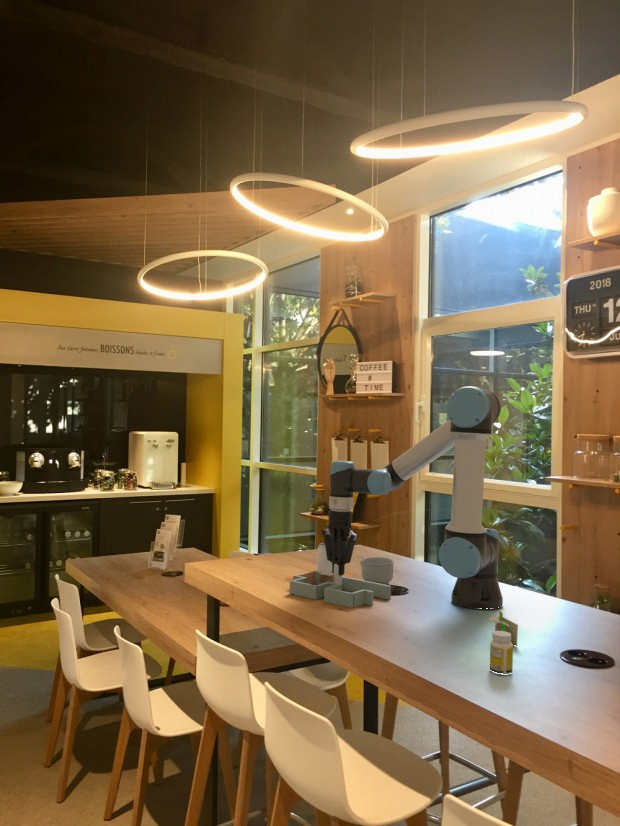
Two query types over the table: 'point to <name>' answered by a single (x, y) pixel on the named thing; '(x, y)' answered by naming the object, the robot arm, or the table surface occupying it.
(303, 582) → the box
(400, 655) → the table surface
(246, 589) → the table surface
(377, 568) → the teacup
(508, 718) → the table surface
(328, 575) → the block
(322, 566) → the can
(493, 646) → the supplement bottle
